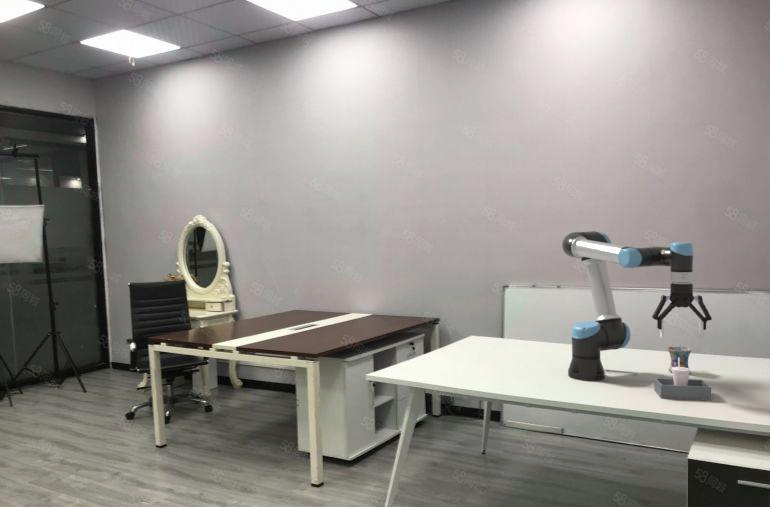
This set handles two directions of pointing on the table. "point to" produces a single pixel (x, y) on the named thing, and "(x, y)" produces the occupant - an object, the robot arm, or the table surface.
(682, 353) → the mug
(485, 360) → the table surface
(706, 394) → the tray
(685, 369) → the smoothie
